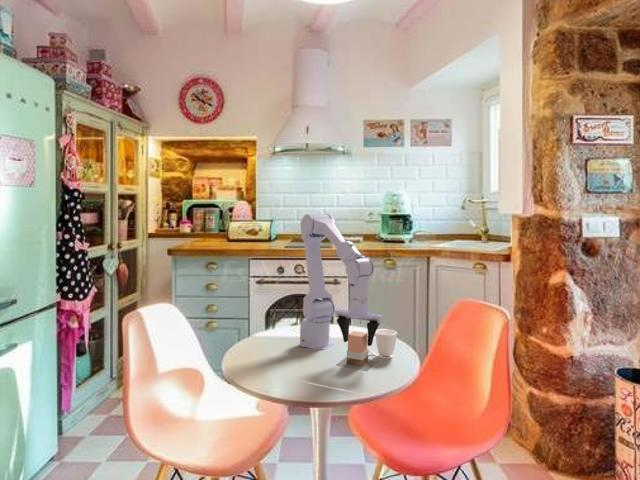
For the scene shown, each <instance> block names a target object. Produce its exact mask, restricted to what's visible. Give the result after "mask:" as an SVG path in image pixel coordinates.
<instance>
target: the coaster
mask: <svg viewBox="0 0 640 480" xmlns="http://www.w3.org/2000/svg"><path fill="white" fill-rule="evenodd" d="M378 362H379V360H377V359H373V358H372V359H370V358H368V362H367V363H366V364H365V365H364V366H363V367H360V366H354V365H349V364H346V363H347V356H346V357H344V358H343V359H342V360H340V361H339V362H338V363H336V364H335V366H338V367H342V368H347V369H354V370H358V371H363V372H368V371H369V370H371V368H373V367H374V366H375V365H376V364H377V363H378Z"/></svg>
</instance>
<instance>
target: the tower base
mask: <svg viewBox="0 0 640 480" xmlns="http://www.w3.org/2000/svg"><path fill="white" fill-rule="evenodd" d="M368 359H369V355H368V356H367V357H366V358H365V359H363V360H358V359H352V358H347V363H346V364H349V365H354V366H360V367H363V366H364V365H365V364H366V363H367V362H368Z"/></svg>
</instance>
